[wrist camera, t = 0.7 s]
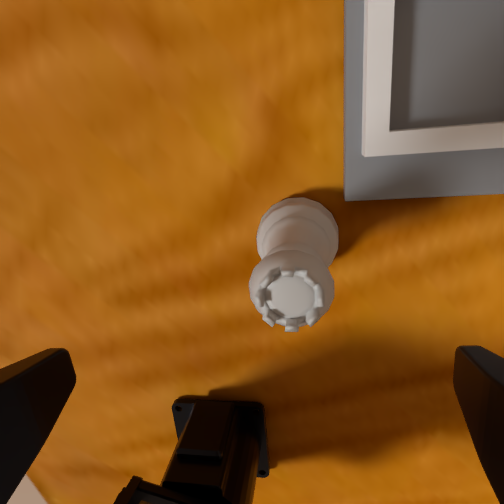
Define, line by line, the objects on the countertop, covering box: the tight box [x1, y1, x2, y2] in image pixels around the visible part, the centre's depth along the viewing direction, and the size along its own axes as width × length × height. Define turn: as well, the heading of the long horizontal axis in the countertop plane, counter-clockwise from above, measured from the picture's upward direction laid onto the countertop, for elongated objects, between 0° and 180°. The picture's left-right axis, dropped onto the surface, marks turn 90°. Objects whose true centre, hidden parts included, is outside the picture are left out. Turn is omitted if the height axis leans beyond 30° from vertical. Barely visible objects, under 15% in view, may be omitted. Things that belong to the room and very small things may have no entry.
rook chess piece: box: [249, 197, 339, 332], centre depth 17 cm, size 4×4×8 cm
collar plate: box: [344, 0, 504, 201], centre depth 16 cm, size 12×9×2 cm
